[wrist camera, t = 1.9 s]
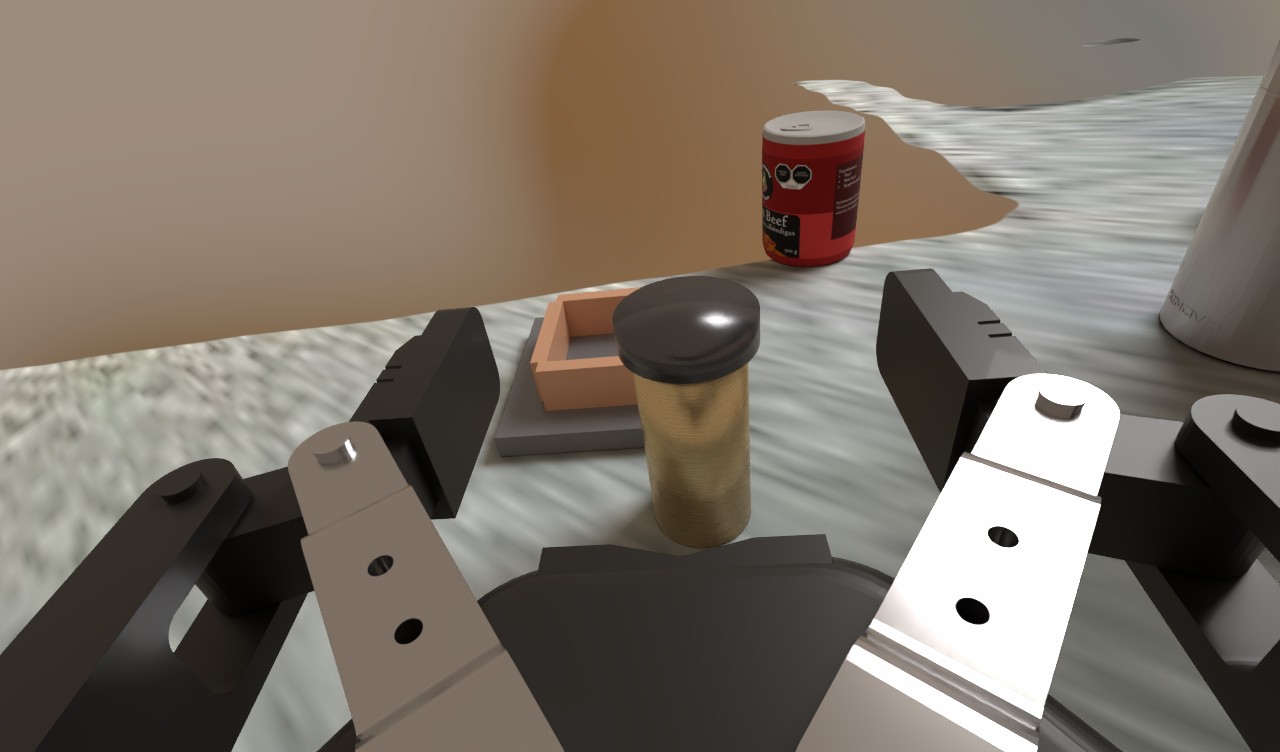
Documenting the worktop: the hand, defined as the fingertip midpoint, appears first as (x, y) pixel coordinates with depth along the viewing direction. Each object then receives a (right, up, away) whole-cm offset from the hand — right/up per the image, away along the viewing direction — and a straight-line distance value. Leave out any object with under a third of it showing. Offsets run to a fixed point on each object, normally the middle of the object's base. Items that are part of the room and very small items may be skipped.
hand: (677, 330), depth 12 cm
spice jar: (+3, -8, +20) cm, 21 cm away
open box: (-2, -1, +30) cm, 30 cm away
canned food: (+14, +10, +43) cm, 46 cm away
